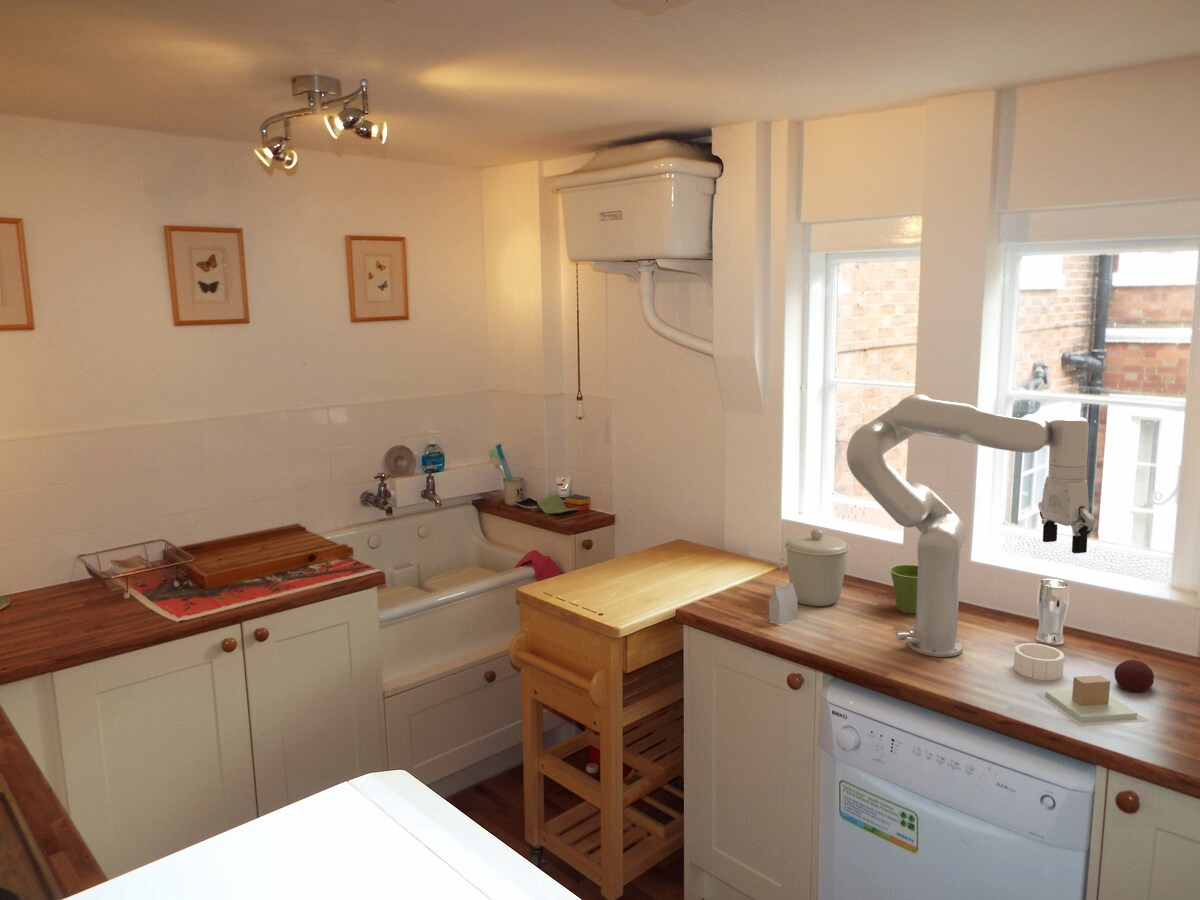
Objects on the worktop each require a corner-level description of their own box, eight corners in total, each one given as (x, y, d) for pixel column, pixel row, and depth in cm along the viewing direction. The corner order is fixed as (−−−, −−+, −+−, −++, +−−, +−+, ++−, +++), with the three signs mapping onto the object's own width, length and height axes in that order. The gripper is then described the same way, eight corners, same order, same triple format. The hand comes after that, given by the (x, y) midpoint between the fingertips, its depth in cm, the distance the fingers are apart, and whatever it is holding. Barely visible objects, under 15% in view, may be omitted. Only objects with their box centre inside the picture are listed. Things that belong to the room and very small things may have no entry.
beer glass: (1069, 647, 215) (1074, 588, 212) (1038, 645, 216) (1042, 586, 214) (1060, 636, 222) (1065, 579, 219) (1030, 634, 223) (1034, 577, 220)
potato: (1107, 690, 191) (1109, 664, 190) (1122, 676, 198) (1124, 650, 197) (1145, 701, 186) (1148, 674, 185) (1159, 686, 193) (1161, 660, 192)
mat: (1078, 728, 175) (1079, 725, 175) (1034, 694, 190) (1034, 692, 190) (1148, 723, 177) (1148, 720, 176) (1099, 690, 191) (1099, 688, 191)
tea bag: (796, 620, 235) (797, 584, 234) (778, 626, 232) (779, 589, 230) (786, 616, 238) (787, 581, 237) (768, 621, 235) (769, 586, 233)
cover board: (1081, 721, 177) (1083, 693, 175) (1045, 695, 188) (1047, 668, 187) (1136, 717, 178) (1139, 690, 177) (1097, 691, 190) (1099, 665, 189)
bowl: (1030, 683, 195) (1031, 661, 195) (1005, 664, 205) (1006, 644, 204) (1071, 680, 196) (1073, 659, 196) (1044, 662, 206) (1046, 642, 205)
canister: (856, 596, 253) (858, 525, 249) (836, 616, 238) (839, 540, 234) (795, 586, 262) (797, 518, 259) (773, 604, 247) (774, 532, 244)
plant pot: (922, 601, 248) (924, 563, 246) (940, 616, 236) (942, 576, 234) (881, 602, 247) (882, 564, 246) (896, 618, 236) (898, 577, 234)
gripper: (1027, 467, 203) (1024, 538, 206) (1079, 480, 186) (1075, 558, 189) (1056, 464, 204) (1053, 536, 207) (1111, 478, 187) (1106, 555, 190)
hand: (1064, 547), depth 198 cm, fingers open, 9 cm apart
